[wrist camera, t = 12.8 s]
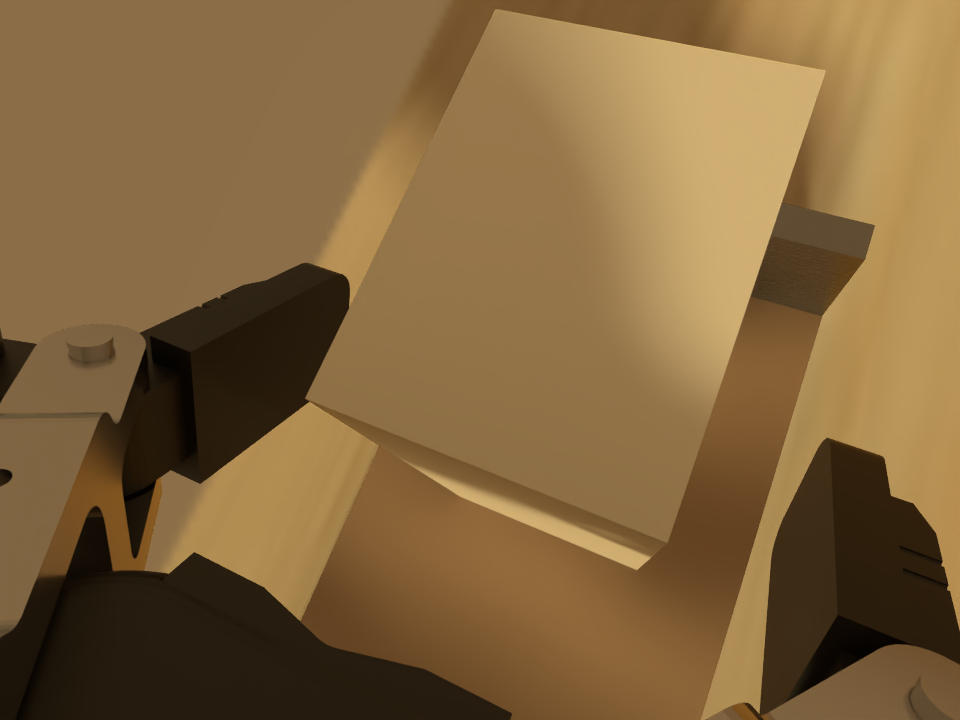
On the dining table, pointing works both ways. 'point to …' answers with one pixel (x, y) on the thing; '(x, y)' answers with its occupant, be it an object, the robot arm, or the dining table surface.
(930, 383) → the dining table surface
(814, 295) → the rail
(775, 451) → the shelf board
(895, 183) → the dining table surface
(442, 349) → the carton
